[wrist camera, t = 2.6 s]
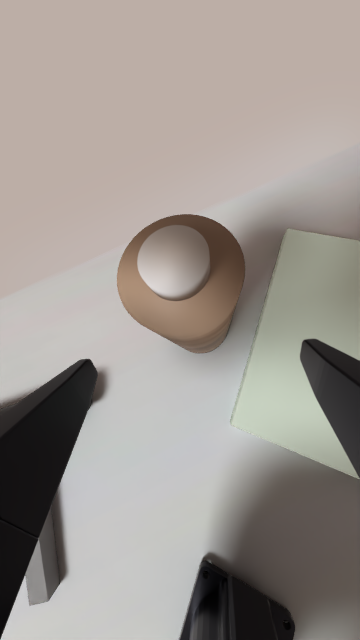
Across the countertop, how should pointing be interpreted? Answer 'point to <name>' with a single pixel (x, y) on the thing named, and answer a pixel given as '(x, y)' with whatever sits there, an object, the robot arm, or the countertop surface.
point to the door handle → (42, 561)
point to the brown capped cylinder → (183, 280)
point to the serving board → (286, 340)
